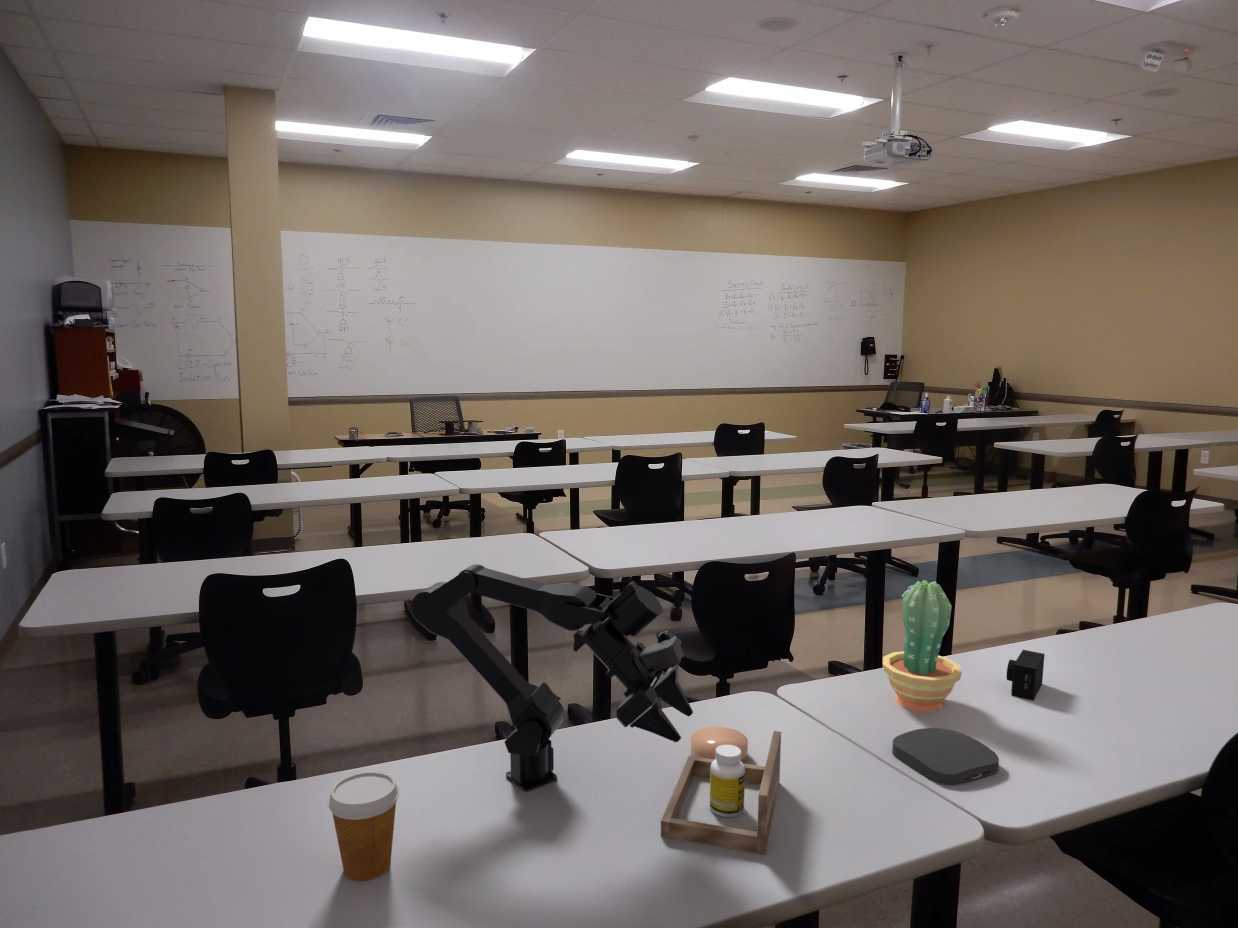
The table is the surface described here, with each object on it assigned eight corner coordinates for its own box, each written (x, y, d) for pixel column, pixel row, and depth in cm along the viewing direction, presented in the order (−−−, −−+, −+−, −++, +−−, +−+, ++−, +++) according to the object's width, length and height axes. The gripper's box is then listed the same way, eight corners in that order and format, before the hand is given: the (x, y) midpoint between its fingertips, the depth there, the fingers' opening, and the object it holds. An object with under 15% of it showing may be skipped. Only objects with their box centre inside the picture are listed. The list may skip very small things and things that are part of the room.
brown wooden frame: (660, 836, 124) (661, 779, 123) (688, 769, 144) (689, 719, 142) (765, 854, 120) (767, 795, 119) (779, 782, 140) (781, 731, 138)
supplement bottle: (743, 820, 129) (744, 760, 127) (707, 816, 130) (708, 756, 128) (745, 801, 134) (746, 743, 132) (711, 797, 135) (712, 740, 134)
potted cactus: (966, 697, 173) (974, 579, 169) (951, 725, 160) (959, 599, 156) (890, 680, 181) (896, 568, 177) (870, 706, 168) (876, 586, 165)
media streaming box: (882, 751, 151) (883, 735, 151) (944, 736, 157) (945, 721, 156) (943, 791, 138) (944, 774, 137) (1008, 773, 143) (1009, 756, 143)
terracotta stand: (719, 775, 142) (719, 759, 141) (679, 753, 149) (679, 737, 149) (759, 757, 148) (759, 741, 147) (718, 736, 156) (719, 721, 155)
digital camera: (1014, 678, 183) (1016, 647, 182) (1042, 684, 180) (1044, 653, 179) (1004, 694, 174) (1007, 662, 173) (1033, 701, 171) (1036, 668, 170)
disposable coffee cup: (340, 848, 121) (336, 770, 120) (407, 844, 122) (404, 768, 120) (323, 890, 112) (318, 807, 110) (395, 887, 113) (392, 804, 111)
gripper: (637, 642, 122) (711, 723, 121) (666, 603, 140) (731, 673, 138) (586, 687, 125) (657, 766, 124) (621, 644, 143) (683, 713, 142)
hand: (685, 726), depth 132 cm, fingers open, 9 cm apart
